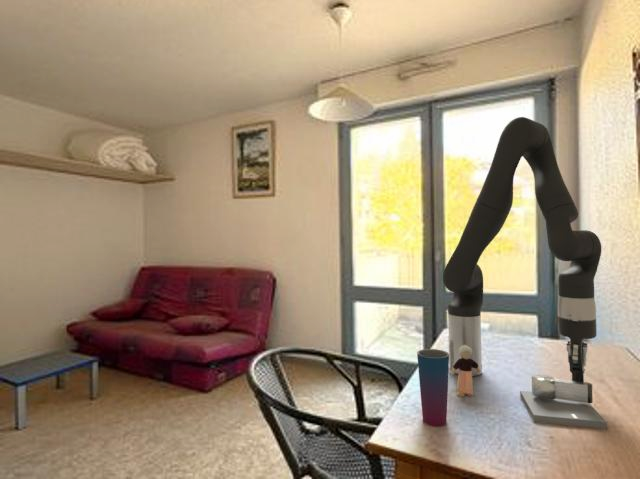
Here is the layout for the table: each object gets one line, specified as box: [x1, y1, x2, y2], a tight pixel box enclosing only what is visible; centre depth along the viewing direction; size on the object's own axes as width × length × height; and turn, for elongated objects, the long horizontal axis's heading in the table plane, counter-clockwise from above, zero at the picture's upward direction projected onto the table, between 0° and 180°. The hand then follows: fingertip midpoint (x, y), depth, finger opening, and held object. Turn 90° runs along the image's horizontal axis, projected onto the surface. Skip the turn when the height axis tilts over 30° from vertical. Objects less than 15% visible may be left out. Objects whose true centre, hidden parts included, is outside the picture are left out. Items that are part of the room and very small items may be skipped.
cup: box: [416, 348, 450, 427], centre depth 85 cm, size 7×7×15 cm
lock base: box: [519, 390, 608, 430], centre depth 88 cm, size 14×14×2 cm
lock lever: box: [531, 374, 594, 404], centre depth 89 cm, size 12×5×4 cm, turn 63°
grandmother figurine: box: [450, 345, 480, 397], centre depth 99 cm, size 8×4×13 cm, turn 105°
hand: (578, 388), depth 90 cm, fingers closed
